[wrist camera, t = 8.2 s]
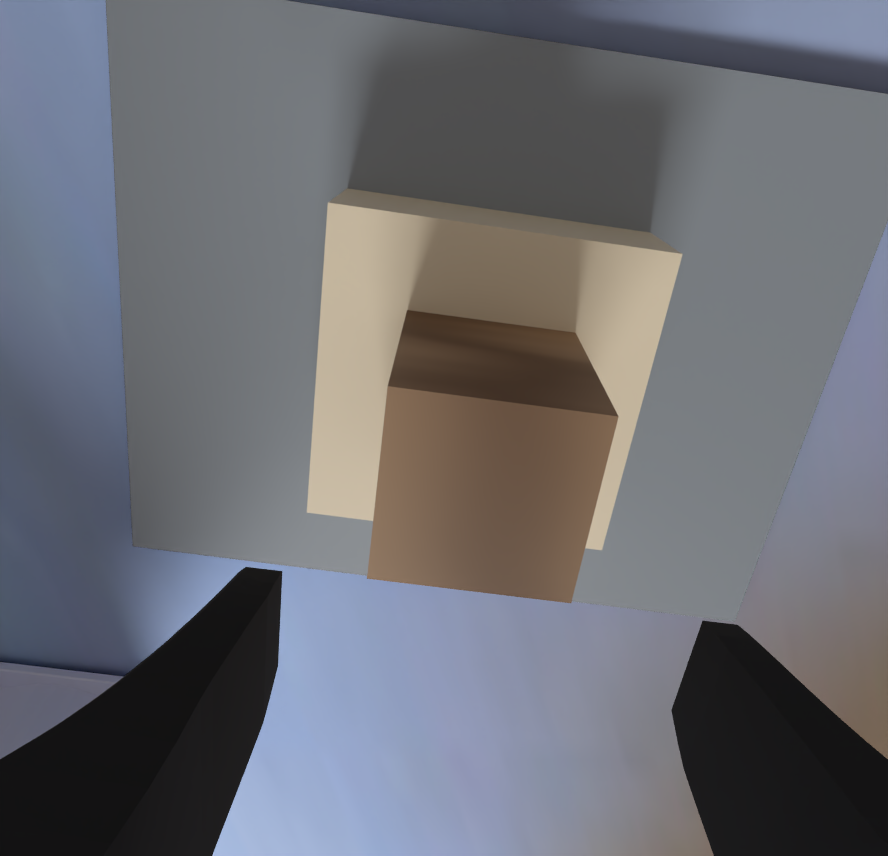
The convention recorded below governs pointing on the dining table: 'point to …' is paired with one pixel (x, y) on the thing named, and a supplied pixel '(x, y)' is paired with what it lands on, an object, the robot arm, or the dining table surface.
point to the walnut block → (489, 458)
